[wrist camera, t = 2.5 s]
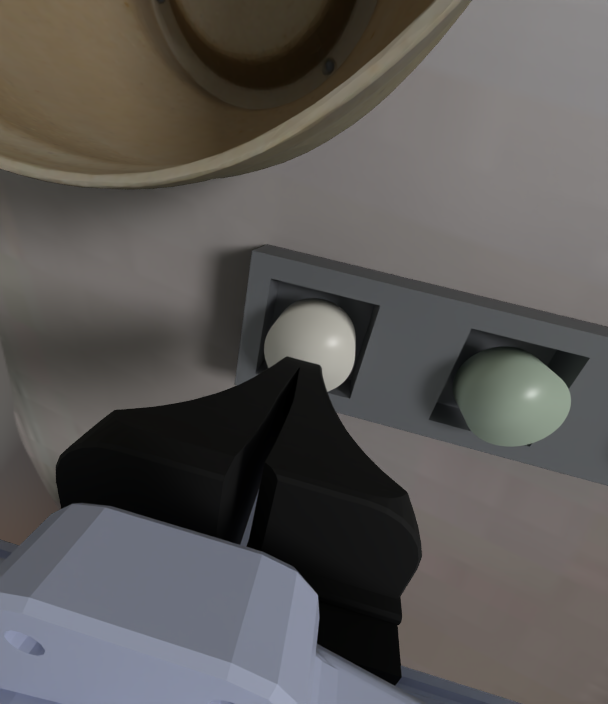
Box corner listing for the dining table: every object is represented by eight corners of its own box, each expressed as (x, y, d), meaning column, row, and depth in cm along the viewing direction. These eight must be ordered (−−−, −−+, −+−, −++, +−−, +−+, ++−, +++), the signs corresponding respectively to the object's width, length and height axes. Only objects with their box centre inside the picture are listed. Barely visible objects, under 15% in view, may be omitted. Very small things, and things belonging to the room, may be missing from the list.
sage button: (439, 407, 16) (449, 432, 14) (473, 336, 15) (489, 355, 13) (519, 428, 16) (539, 456, 14) (563, 359, 14) (592, 381, 12)
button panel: (249, 363, 19) (234, 384, 17) (267, 244, 16) (252, 250, 14) (680, 478, 18) (727, 518, 16) (790, 370, 15) (867, 400, 12)
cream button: (269, 362, 17) (258, 381, 15) (282, 288, 15) (271, 299, 13) (343, 382, 17) (341, 403, 15) (365, 309, 15) (366, 323, 13)
